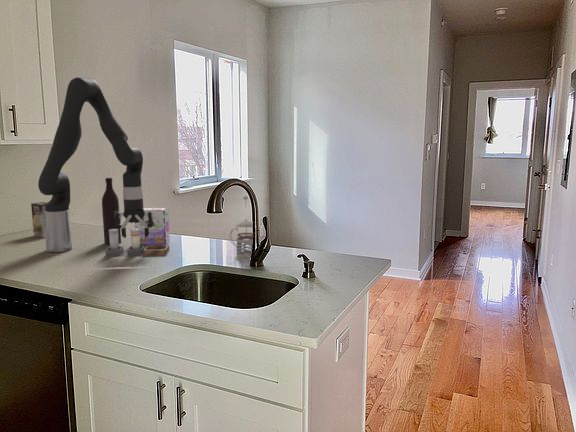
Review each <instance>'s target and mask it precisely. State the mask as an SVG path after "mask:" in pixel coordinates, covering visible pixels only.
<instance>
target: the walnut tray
mask: <svg viewBox="0 0 576 432" xmlns="http://www.w3.org/2000/svg"><path fill="white" fill-rule="evenodd" d="M169 252H170V244H166V245H157V244H146V245H145V248H144V250H143V255H142V256H144V257H145V256H146V257H148V256H149V257H151V256H153V257H155V256H167V255H168V253H169Z"/></svg>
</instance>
